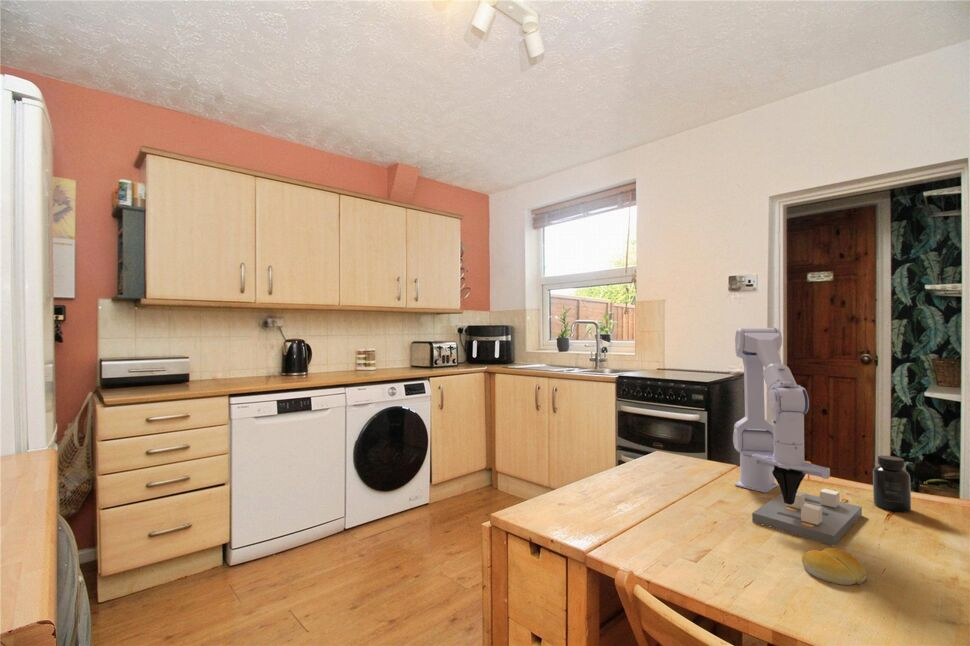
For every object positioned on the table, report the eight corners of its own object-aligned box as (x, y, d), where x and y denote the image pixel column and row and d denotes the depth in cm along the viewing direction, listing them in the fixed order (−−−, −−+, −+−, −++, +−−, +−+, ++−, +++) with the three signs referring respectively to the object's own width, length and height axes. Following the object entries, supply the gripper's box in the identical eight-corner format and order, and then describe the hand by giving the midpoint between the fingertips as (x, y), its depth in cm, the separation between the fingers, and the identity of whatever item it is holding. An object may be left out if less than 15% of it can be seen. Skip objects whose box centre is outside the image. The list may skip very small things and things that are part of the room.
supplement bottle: (917, 510, 108) (916, 460, 108) (900, 515, 106) (899, 463, 106) (883, 500, 115) (882, 452, 115) (866, 504, 112) (866, 455, 112)
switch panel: (787, 497, 117) (787, 489, 117) (861, 515, 106) (861, 506, 106) (752, 521, 102) (752, 512, 103) (833, 545, 91) (833, 535, 91)
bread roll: (791, 564, 84) (791, 542, 84) (835, 561, 86) (834, 539, 86) (830, 589, 76) (830, 565, 76) (878, 585, 77) (877, 562, 77)
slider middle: (789, 502, 108) (789, 489, 108) (804, 505, 106) (804, 493, 106) (785, 505, 106) (785, 492, 106) (800, 509, 104) (800, 496, 104)
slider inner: (824, 501, 109) (823, 488, 109) (839, 504, 106) (839, 491, 106) (820, 504, 107) (820, 491, 107) (835, 507, 104) (835, 494, 104)
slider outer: (805, 516, 100) (805, 503, 100) (822, 521, 97) (821, 507, 97) (801, 520, 98) (801, 506, 98) (817, 525, 95) (817, 510, 96)
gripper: (746, 438, 104) (746, 497, 104) (822, 451, 93) (823, 518, 93) (758, 433, 108) (758, 490, 108) (832, 445, 97) (833, 509, 97)
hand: (789, 502), depth 101 cm, fingers closed
